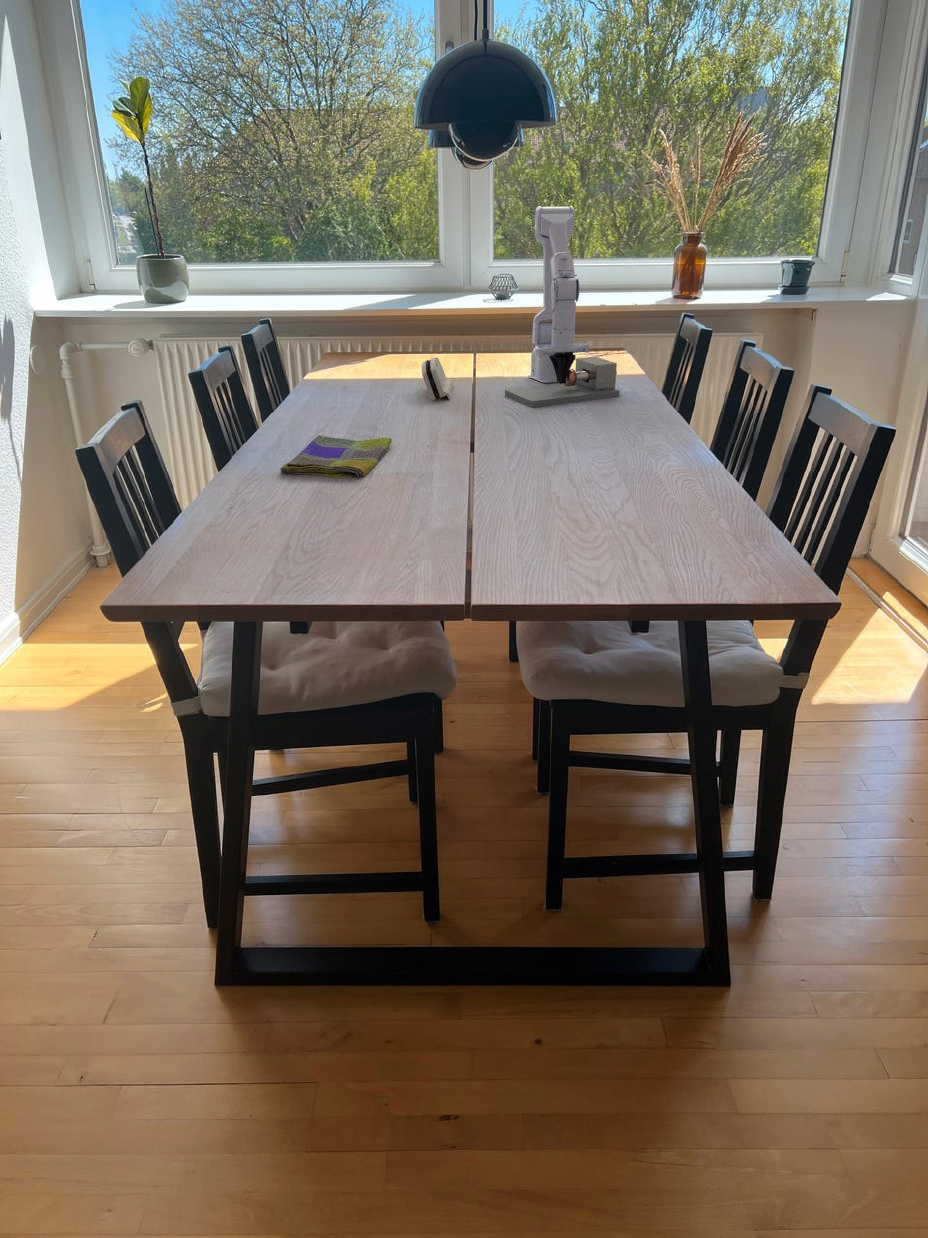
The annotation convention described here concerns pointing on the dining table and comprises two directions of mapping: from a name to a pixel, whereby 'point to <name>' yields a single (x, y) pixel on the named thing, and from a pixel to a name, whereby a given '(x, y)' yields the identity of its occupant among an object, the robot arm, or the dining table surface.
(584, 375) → the shaft
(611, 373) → the bearing block
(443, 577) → the dining table surface
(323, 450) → the dish towel
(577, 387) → the base plate
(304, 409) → the dining table surface
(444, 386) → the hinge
